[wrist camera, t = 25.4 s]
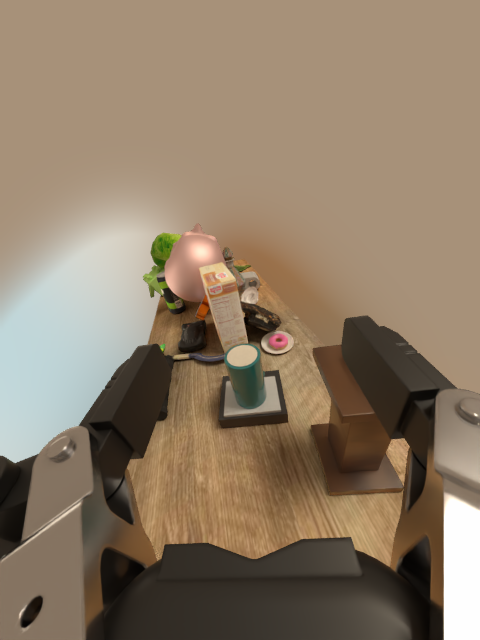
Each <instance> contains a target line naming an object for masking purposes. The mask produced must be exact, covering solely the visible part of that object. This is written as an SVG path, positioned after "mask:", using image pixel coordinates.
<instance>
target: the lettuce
mask: <svg viewBox="0 0 480 640" xmlns="http://www.w3.org/2000/svg"><path fill="white" fill-rule="evenodd" d="M181 236H182V235H179V234H169V233H162V234H160V235H158V236H157V237H156V239H155V241H154V242H153V244H152V249H151V255H152V258H153V260H154V262H155V264H156V265H157V266H159V267H160V268H162V269H165V268H164V266H165V263H166V261H167V260H168V259H169V257H170V254H171V251H172V248H173V244H174V243H175V242H177V241H178V240H179V239H180V237H181Z"/></svg>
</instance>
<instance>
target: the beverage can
mask: <svg viewBox="0 0 480 640" xmlns="http://www.w3.org/2000/svg"><path fill="white" fill-rule="evenodd" d="M156 277H157V281H158V284H159V286H160V288H161V291H162V293H163V296H164V298H165V301H166V303H167V306H168V308H169V310H170V312H171V313H174V314H177V313H180V312H182V311H184V310H185V307H186V306H185V303H184V300H183V299H182V298H180V297H178V296H177V295H176V294H174V293H173V292H172V290H171V289H170V288H169V286H168V285H167V282H166V280H165V271H164V272H161V273H159V274H157V275H156Z"/></svg>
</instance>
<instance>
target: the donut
mask: <svg viewBox="0 0 480 640" xmlns="http://www.w3.org/2000/svg"><path fill="white" fill-rule="evenodd" d="M293 343H294V341H293V338H292V336H291V335H290V334H288V333H286V332H283V331H273V332H270V333H268V334H266V335H265V336H264V337H263V338H262V341H261V345H262V347H263V349H264V350H265V351H267V352H269V353H273V354H281V353H284V352H287V351H288V350H290V349H291V348H292V346H293Z"/></svg>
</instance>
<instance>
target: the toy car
mask: <svg viewBox="0 0 480 640" xmlns="http://www.w3.org/2000/svg"><path fill="white" fill-rule="evenodd" d="M205 330H206V322H205V320H202V321H197V322H193V323H188V324H183V325H182V336H181V341H179V343H178V347H179V350H180V351H181V352H188V351H195V350H197V349H201V348H203V347H205V345H206V338H205Z"/></svg>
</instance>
